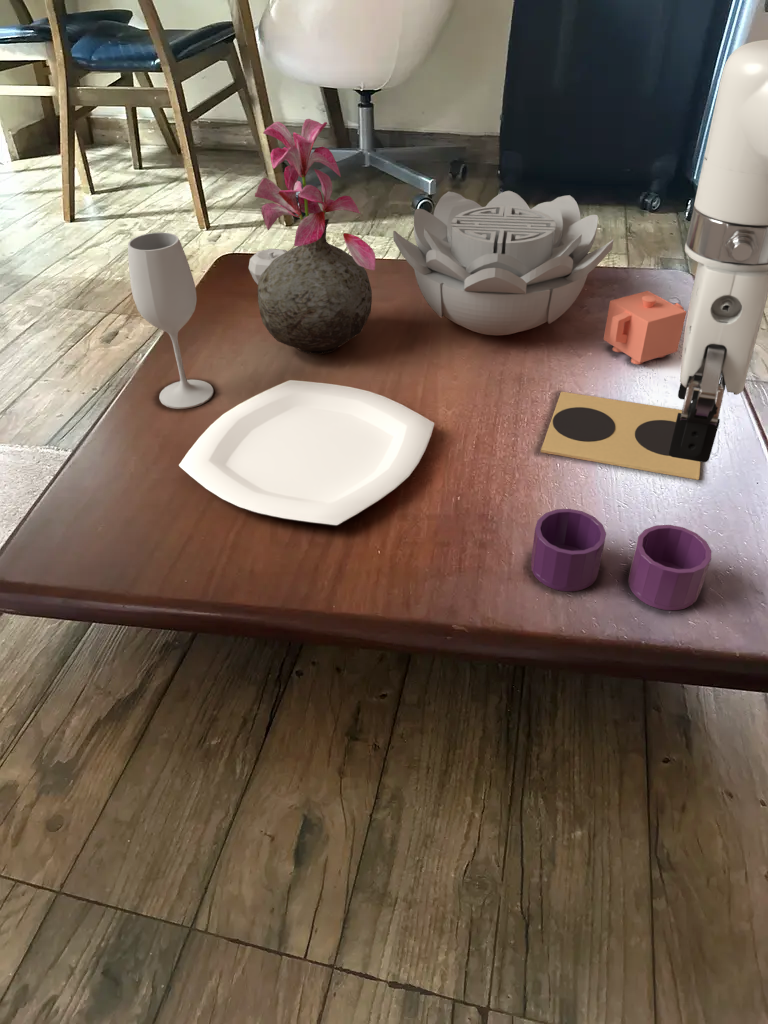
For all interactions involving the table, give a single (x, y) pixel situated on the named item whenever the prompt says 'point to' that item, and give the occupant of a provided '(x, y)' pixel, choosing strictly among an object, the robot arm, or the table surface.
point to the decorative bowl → (502, 260)
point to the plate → (309, 452)
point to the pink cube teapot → (644, 326)
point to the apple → (263, 261)
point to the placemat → (616, 434)
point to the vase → (312, 255)
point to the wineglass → (166, 304)
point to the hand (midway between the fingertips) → (691, 427)
